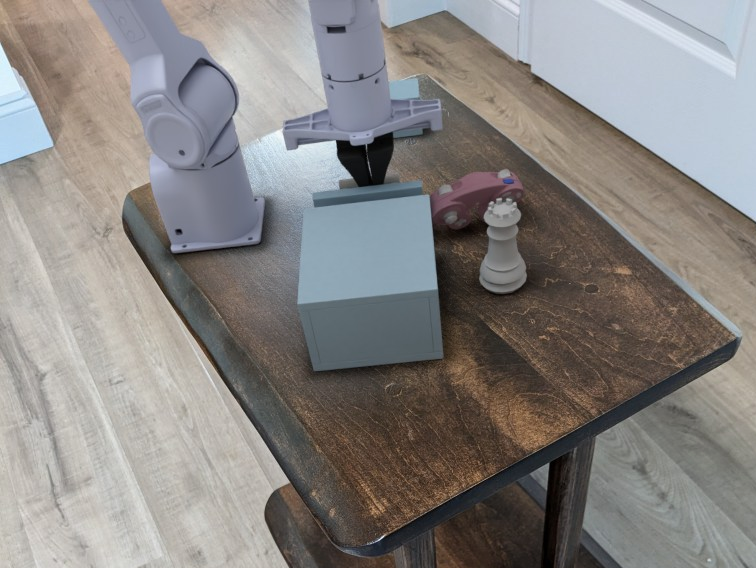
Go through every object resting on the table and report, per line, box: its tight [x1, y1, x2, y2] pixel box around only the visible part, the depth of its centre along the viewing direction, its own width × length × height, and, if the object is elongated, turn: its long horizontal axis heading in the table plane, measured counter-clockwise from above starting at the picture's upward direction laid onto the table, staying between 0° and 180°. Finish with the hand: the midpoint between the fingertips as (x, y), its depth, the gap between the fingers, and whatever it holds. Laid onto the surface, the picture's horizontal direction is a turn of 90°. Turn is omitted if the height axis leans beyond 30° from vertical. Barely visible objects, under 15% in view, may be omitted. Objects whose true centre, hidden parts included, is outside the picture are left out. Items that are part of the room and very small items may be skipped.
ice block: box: [388, 77, 424, 139], centre depth 99 cm, size 4×4×4 cm
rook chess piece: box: [478, 198, 528, 295], centre depth 78 cm, size 4×4×8 cm
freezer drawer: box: [312, 172, 424, 208], centre depth 82 cm, size 17×10×6 cm, turn 1°
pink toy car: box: [429, 168, 525, 230], centre depth 85 cm, size 10×5×7 cm, turn 105°
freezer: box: [296, 193, 444, 372], centre depth 77 cm, size 14×12×8 cm
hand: (375, 204), depth 85 cm, fingers closed, pressing on freezer drawer
